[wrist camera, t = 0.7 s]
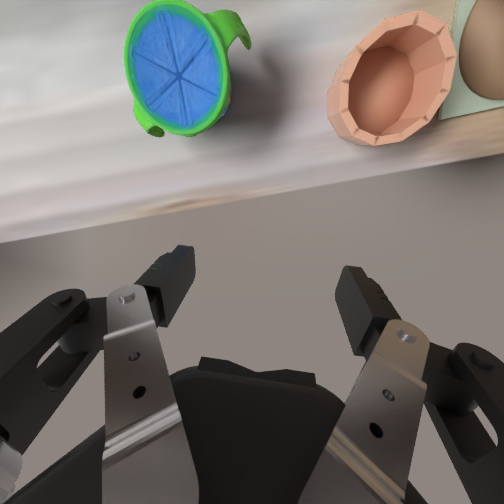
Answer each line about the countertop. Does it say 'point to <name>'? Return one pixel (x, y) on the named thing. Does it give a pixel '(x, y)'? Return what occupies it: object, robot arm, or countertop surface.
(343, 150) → the countertop surface
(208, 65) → the snack cup
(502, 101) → the mat
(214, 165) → the countertop surface
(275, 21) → the countertop surface
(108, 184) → the countertop surface
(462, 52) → the lid
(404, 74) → the bowl
